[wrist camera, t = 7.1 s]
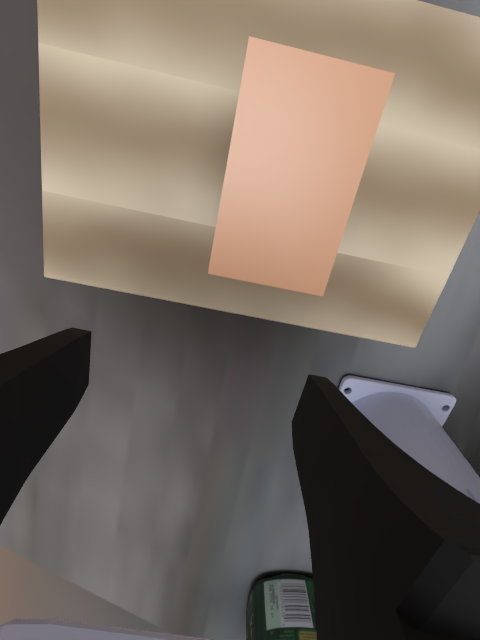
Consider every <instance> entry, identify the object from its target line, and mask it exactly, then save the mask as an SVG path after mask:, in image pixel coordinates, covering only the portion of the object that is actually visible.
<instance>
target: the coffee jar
mask: <svg viewBox="0 0 480 640" xmlns="http://www.w3.org/2000/svg"><path fill="white" fill-rule="evenodd" d="M246 640H317V633H316V615H315V598H314V584H313V579H311V578H309V577H307V576H304V575H298V574H280V575H277V576H273V577H269V578H265V579H261V580H259V581H258V582H257V583H256V584H255V585H254V587H253V589H252V591H251V594H250V597H249V600H248V604H247V611H246Z"/></svg>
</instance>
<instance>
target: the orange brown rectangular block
mask: <svg viewBox="0 0 480 640" xmlns="http://www.w3.org/2000/svg"><path fill="white" fill-rule="evenodd" d="M394 76H395V73H392V72H388V71H384V70H380V69H376V68H372V67H368V66H364V65H360V64H357V63H353V62H349V61H345V60H341V59H337V58H333V57H329V56H325V55H321V54H317V53H313V52H309V51H305V50H302V49H298V48H294V47H290V46H286V45H282V44H278V43H274V42H270V41H266V40H262V39H258V38H254V37H251V36H249V39H248V45H247V51H246V57H245V62H244V68H243V74H242V80H241V85H240V91H239V97H238V103H237V108H236V114H235V120H234V126H233V131H232V137H231V143H230V149H229V154H228V160H227V166H226V172H225V177H224V183H223V189H222V194H221V200H220V206H219V212H218V217H217V223H216V229H215V235H214V240H213V246H212V252H211V258H210V263H209V269H208V274H212V275H217V276H222V277H227V278H232V279H237V280H242V281H247V282H252V283H257V284H262V285H267V286H272V287H277V288H282V289H287V290H292V291H298V292H303V293H308V294H313V295H318V296H323V295H324V292H325V289H326V286H327V283H328V280H329V276H330V273H331V270H332V267H333V264H334V261H335V258H336V255H337V252H338V249H339V246H340V242H341V239H342V236H343V233H344V230H345V227H346V224H347V221H348V218H349V215H350V212H351V208H352V205H353V202H354V199H355V196H356V193H357V190H358V187H359V184H360V181H361V178H362V174H363V171H364V168H365V165H366V162H367V159H368V156H369V153H370V150H371V147H372V144H373V140H374V137H375V134H376V131H377V128H378V125H379V122H380V119H381V116H382V113H383V110H384V106H385V103H386V100H387V97H388V94H389V91H390V88H391V85H392V82H393V79H394Z"/></svg>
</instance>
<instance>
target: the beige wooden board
mask: <svg viewBox="0 0 480 640" xmlns="http://www.w3.org/2000/svg"><path fill="white" fill-rule="evenodd" d="M37 3H38V44H39V84H40V124H41V165H42V205H43V245H44V277H48V278H53V279H58V280H64V281H69V282H74V283H79V284H84V285H90V286H95V287H100V288H105V289H110V290H116V291H121V292H126V293H131V294H137V295H142V296H147V297H152V298H157V299H163V300H168V301H173V302H178V303H183V304H189V305H194V306H199V307H204V308H210V309H215V310H220V311H225V312H230V313H236V314H241V315H246V316H251V317H257V318H262V319H267V320H272V321H277V322H283V323H288V324H293V325H298V326H303V327H309V328H314V329H319V330H324V331H330V332H335V333H340V334H345V335H350V336H356V337H361V338H366V339H371V340H376V341H382V342H387V343H392V344H397V345H403V346H408V347H413V348H416V345H417V343H418V341H419V339H420V337H421V335H422V333H423V331H424V328H425V326H426V324H427V322H428V320H429V318H430V316H431V313H432V311H433V309H434V307H435V305H436V303H437V301H438V299H439V296H440V294H441V292H442V290H443V288H444V286H445V284H446V282H447V279H448V277H449V275H450V273H451V271H452V269H453V267H454V264H455V262H456V260H457V258H458V256H459V254H460V252H461V250H462V247H463V245H464V243H465V241H466V239H467V237H468V235H469V233H470V230H471V228H472V226H473V224H474V222H475V220H476V218H477V215H478V213H479V211H480V17H476V16H473V15H469V14H465V13H462V12H458V11H454V10H451V9H447V8H443V7H440V6H436V5H432V4H429V3H425V2H422V1H418V0H37ZM249 36H251V37H254V38H258V39H262V40H266V41H270V42H274V43H278V44H282V45H286V46H290V47H294V48H298V49H302V50H305V51H309V52H313V53H317V54H321V55H325V56H329V57H333V58H337V59H341V60H345V61H349V62H353V63H357V64H360V65H364V66H368V67H372V68H376V69H380V70H384V71H388V72H392V73H395V76H394V79H393V82H392V85H391V88H390V91H389V94H388V97H387V100H386V103H385V106H384V110H383V113H382V116H381V119H380V122H379V125H378V128H377V131H376V134H375V137H374V140H373V144H372V147H371V150H370V153H369V156H368V159H367V162H366V165H365V168H364V171H363V174H362V178H361V181H360V184H359V187H358V190H357V193H356V196H355V199H354V202H353V205H352V208H351V212H350V215H349V218H348V221H347V224H346V227H345V230H344V233H343V236H342V239H341V242H340V246H339V249H338V252H337V255H336V258H335V261H334V264H333V267H332V270H331V273H330V276H329V280H328V283H327V286H326V289H325V292H324V295H323V296H318V295H313V294H308V293H303V292H298V291H292V290H287V289H282V288H277V287H272V286H267V285H262V284H257V283H252V282H247V281H242V280H237V279H232V278H227V277H222V276H217V275H212V274H208V269H209V263H210V258H211V252H212V246H213V240H214V235H215V229H216V223H217V217H218V212H219V206H220V200H221V194H222V189H223V183H224V177H225V172H226V166H227V160H228V154H229V149H230V143H231V137H232V131H233V126H234V120H235V114H236V108H237V103H238V97H239V91H240V85H241V80H242V74H243V68H244V62H245V57H246V51H247V45H248V39H249Z"/></svg>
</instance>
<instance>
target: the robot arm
mask: <svg viewBox="0 0 480 640" xmlns="http://www.w3.org/2000/svg"><path fill="white" fill-rule="evenodd" d="M90 347H91V331H86V330H81V329H76V328H69V329H66V330H63V331H60V332H58V333H55V334H52V335H50V336H47V337H45V338H42V339H40V340H37V341H34V342H32V343H29V344H27V345H24V346H22V347H19V348H16V349H14V350H11V351H8V352H5V353H2V354H0V525H1V523H2V521H3V519H4V517H5V516H6V514H7V512H8V510H9V509H10V507H11V505H12V503H13V502H14V500H15V498H16V496H17V495H18V493H19V491H20V489H21V488H22V486H23V484H24V483H25V481H26V479H27V478H28V476H29V475H30V473H31V472H32V470H33V469H34V467H35V466H36V465H37V463H38V462H39V460H40V459H41V458H42V456H43V455H44V453H45V452H46V451H47V449H48V448H49V446H50V445H51V444H52V442H53V441H54V439H55V438H56V437H57V435H58V434H59V432H60V431H61V430H62V428H63V427H64V425H65V424H66V423H67V421H68V420H69V418H70V417H71V415H72V414H73V412H74V411H75V409H76V408H77V406H78V404H79V402H80V400H81V398H82V396H83V394H84V392H85V390H86V388H87V386H88V384H89V366H90ZM345 388H350V389H349V390H347V391H345V390H344V389H345ZM455 403H456V398H455V397H454V396H453V395H452V394H450V393H444V392H439V391H433V390H428V389H422V388H417V387H411V386H406V385H400V384H395V383H389V382H384V381H378V380H373V379H367V378H362V377H356V376H345V377H344V378H343V379H342V381H341V384H340V386H339V389H338V388H337V387H336V386H335V385H334V384H333V383H332V382H331V381H330V380H328V379H327V378H325V377H320V376H315V375H310V374H309V375H308V378H307V381H306V384H305V386H304V389H303V392H302V395H301V398H300V400H299V403H298V406H297V409H296V412H295V414H294V417H293V420H292V437H293V450H294V455H295V460H296V466H297V471H298V476H299V481H300V486H301V491H302V495H303V500H304V505H305V510H306V516H307V522H308V529H309V539H310V549H311V559H312V571H313V584H314V598H315V615H316V633H317V640H480V477H479V476H478V475H477V473H476V472H475V471H474V469H473V468H472V467H471V465H470V464H469V463H468V461H467V460H466V459H465V457H464V456H463V455H462V453H461V452H460V451H459V449H458V448H457V447H456V445H455V444H454V443H453V441H452V440H451V439H450V437H449V436H448V435H447V433H446V432H445V431H444V429H443V428H442V426H443V425H444V423H445V421H446V419H447V418H448V416H449V414H450V412H451V410H452V409H453V407H454V405H455ZM445 405H446V406H445ZM443 406H445V407H444V408H442V407H443ZM0 640H212V639H205V638H197V637H189V636H182V635H174V634H166V633H159V632H150V631H143V630H136V629H128V628H120V627H113V626H104V625H97V624H90V623H82V622H74V621H66V620H58V619H14V620H12V621H9V622H7V623H4V624H2V625H0Z"/></svg>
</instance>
